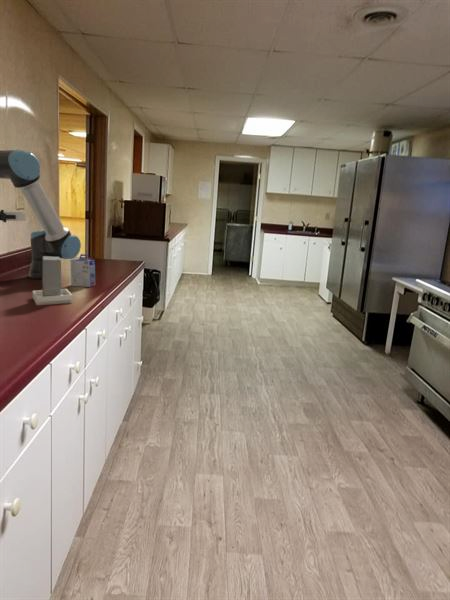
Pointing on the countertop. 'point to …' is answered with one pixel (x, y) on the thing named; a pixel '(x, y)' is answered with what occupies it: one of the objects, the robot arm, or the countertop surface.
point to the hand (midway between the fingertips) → (24, 216)
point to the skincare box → (51, 276)
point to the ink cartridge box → (82, 272)
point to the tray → (52, 298)
